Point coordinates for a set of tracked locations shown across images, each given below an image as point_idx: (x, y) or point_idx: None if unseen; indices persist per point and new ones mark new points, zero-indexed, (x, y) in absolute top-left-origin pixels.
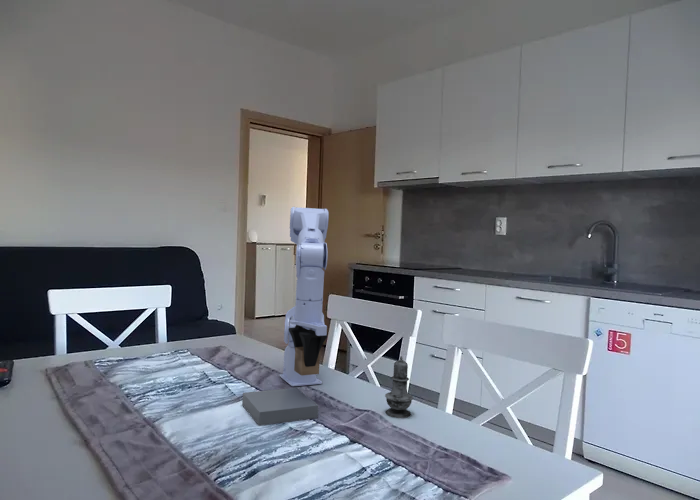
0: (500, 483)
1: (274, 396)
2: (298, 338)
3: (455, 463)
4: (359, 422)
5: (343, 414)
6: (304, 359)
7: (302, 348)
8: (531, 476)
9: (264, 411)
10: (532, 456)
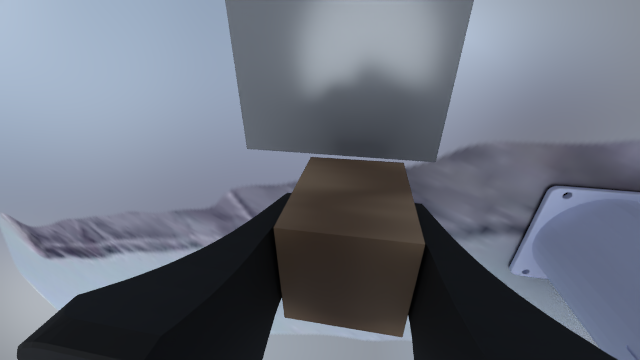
0: (24, 238)
1: (374, 37)
2: (442, 333)
3: (66, 232)
4: (220, 204)
5: (270, 200)
6: (282, 206)
7: (364, 266)
8: (49, 273)
9: None
10: None
